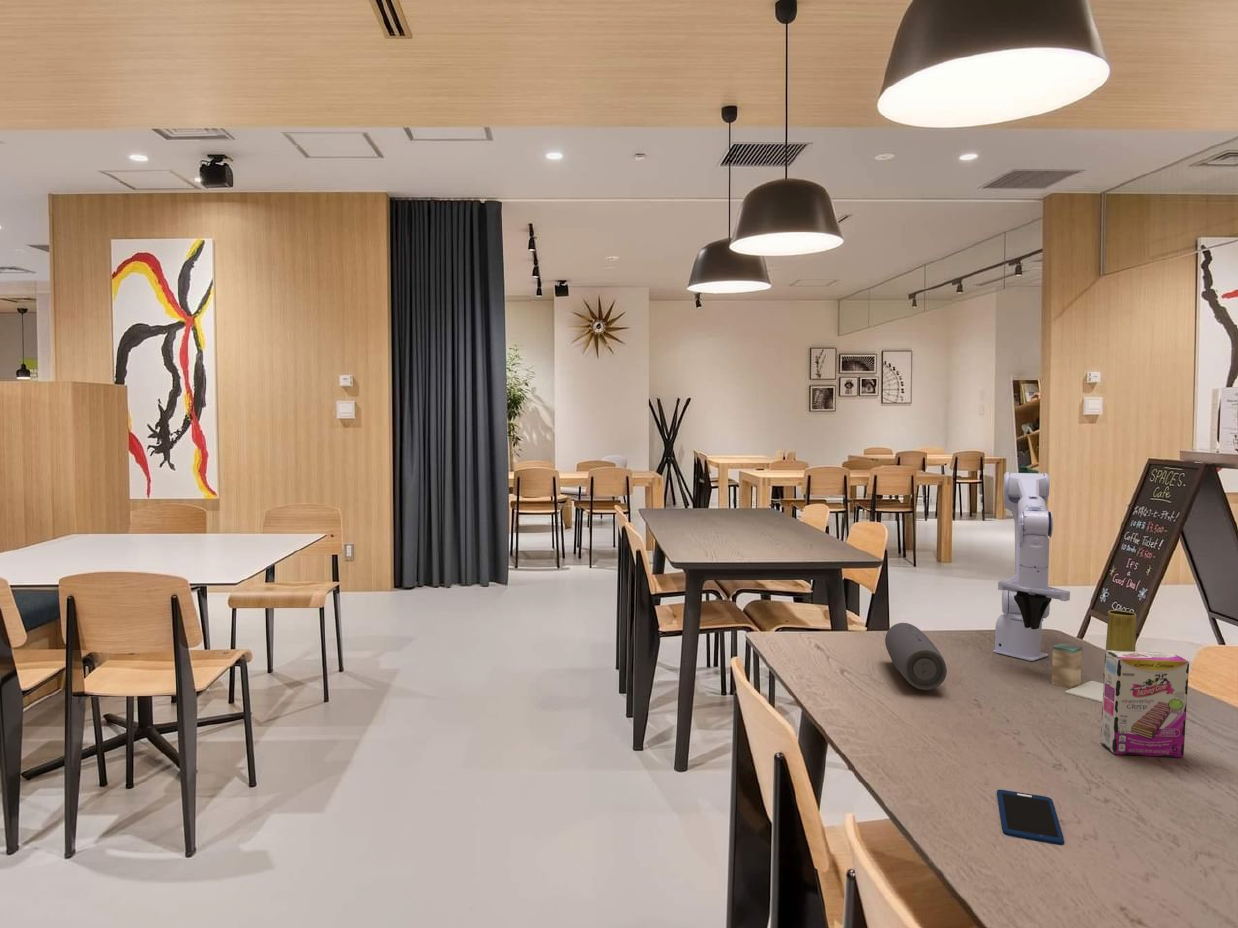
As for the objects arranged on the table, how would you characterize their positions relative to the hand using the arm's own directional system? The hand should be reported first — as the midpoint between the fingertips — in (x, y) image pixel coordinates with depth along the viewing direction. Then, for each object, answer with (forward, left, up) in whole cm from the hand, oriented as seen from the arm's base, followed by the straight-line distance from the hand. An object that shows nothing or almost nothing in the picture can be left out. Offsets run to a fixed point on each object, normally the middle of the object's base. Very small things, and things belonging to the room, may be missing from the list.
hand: (1031, 627), depth 174 cm
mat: (+15, 0, -10) cm, 18 cm away
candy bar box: (+32, -26, -11) cm, 42 cm away
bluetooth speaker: (-13, -23, -11) cm, 29 cm away
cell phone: (+32, -64, -11) cm, 72 cm away
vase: (+12, +14, -11) cm, 21 cm away
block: (+8, 0, -10) cm, 13 cm away
